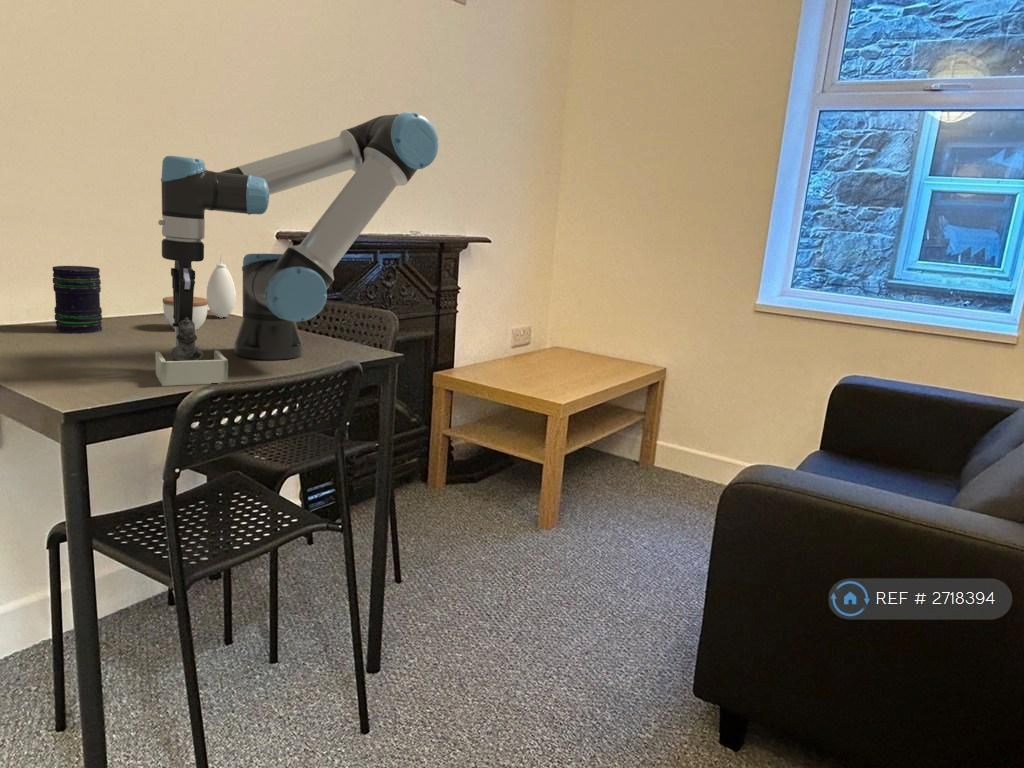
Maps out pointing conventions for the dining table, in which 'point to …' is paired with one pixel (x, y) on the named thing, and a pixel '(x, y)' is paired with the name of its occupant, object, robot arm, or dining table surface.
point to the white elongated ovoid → (221, 291)
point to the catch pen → (191, 371)
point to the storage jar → (77, 299)
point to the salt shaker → (186, 343)
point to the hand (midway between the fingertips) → (182, 357)
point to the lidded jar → (198, 310)
